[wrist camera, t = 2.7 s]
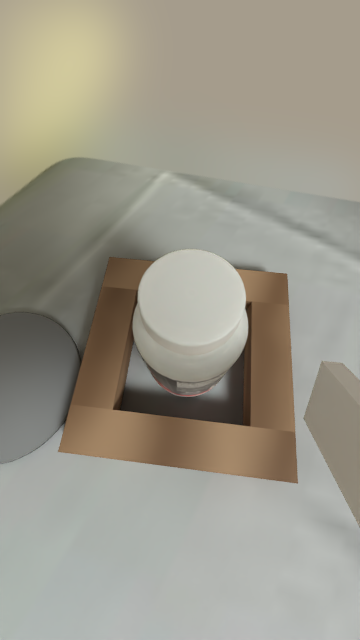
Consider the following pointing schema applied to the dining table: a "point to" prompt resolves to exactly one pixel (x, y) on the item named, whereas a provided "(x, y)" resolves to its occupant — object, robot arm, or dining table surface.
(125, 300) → the pocket
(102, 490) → the dining table surface
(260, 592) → the dining table surface
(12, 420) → the coaster
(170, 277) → the pill bottle
